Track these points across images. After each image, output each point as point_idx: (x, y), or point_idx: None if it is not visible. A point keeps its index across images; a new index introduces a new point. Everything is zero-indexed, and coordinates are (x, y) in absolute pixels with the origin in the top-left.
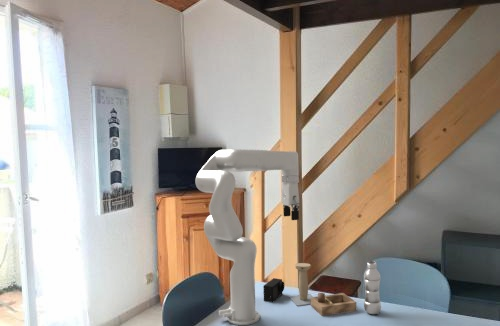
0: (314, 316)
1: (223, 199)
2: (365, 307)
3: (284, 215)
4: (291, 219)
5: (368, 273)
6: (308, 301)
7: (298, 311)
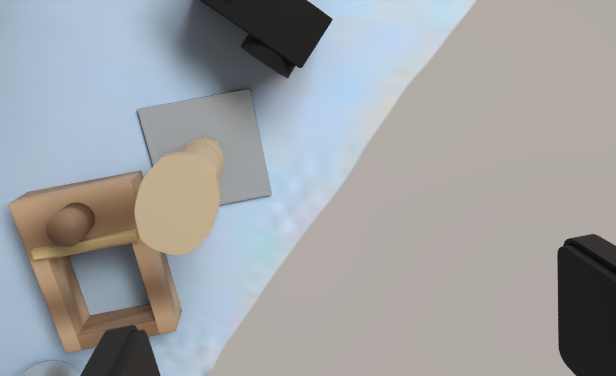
0: (24, 160)
1: None
2: (33, 370)
3: (566, 251)
4: (129, 326)
5: None
6: None
7: (79, 102)
